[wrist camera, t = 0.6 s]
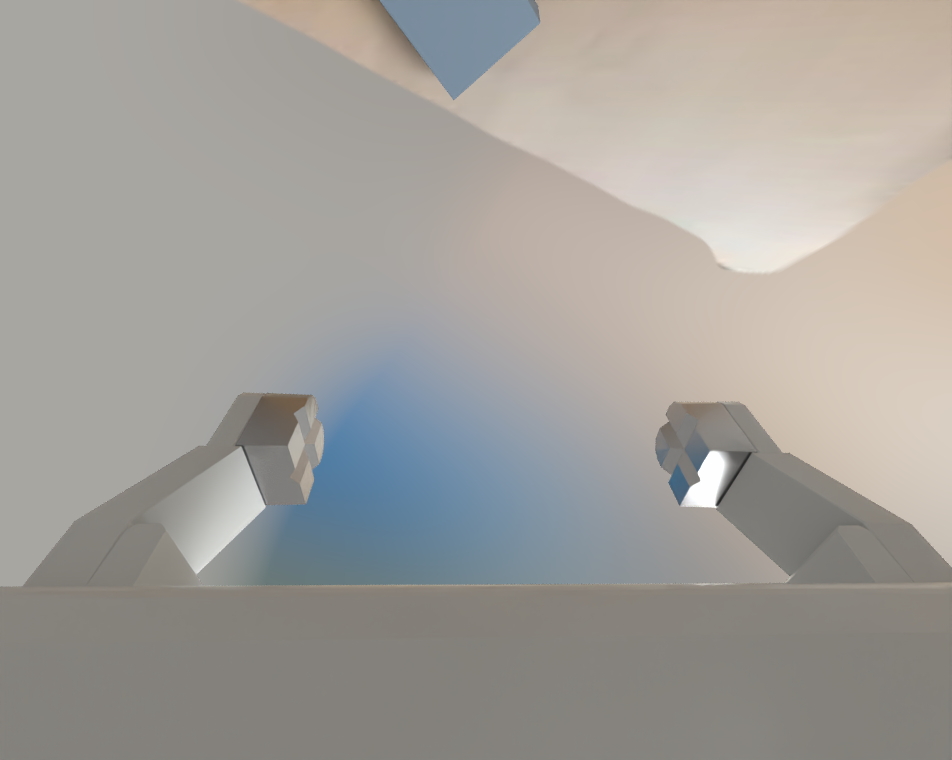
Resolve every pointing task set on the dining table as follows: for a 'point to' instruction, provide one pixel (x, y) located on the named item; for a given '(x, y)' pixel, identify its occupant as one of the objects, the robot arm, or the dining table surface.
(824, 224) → the dining table surface
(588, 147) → the dining table surface
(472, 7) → the slate-blue block
